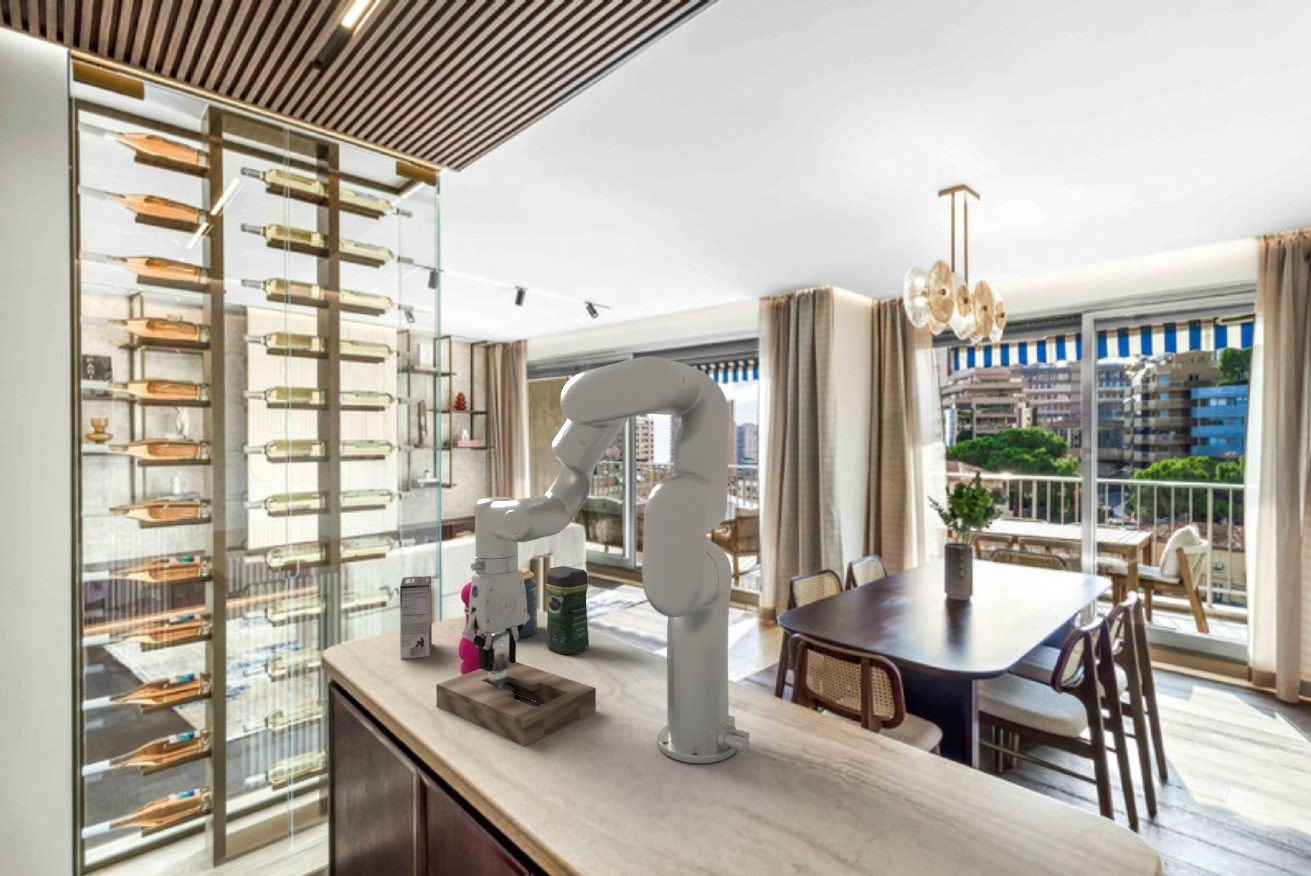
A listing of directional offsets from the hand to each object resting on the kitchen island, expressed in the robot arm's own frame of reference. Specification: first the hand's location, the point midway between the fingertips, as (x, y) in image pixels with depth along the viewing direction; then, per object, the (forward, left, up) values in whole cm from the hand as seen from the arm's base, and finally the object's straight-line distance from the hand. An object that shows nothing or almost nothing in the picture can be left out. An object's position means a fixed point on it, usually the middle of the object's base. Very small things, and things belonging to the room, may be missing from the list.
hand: (497, 664), depth 114 cm
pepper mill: (+16, -7, -7) cm, 19 cm away
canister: (+31, -28, -7) cm, 42 cm away
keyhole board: (-5, 0, -7) cm, 8 cm away
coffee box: (+37, -6, -7) cm, 38 cm away
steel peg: (0, 0, -6) cm, 6 cm away
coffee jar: (+11, -28, -7) cm, 31 cm away
